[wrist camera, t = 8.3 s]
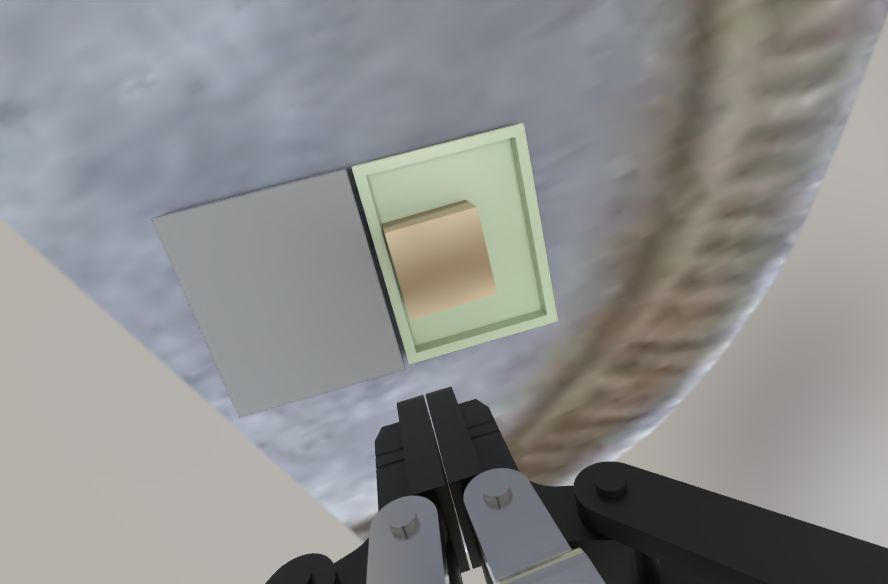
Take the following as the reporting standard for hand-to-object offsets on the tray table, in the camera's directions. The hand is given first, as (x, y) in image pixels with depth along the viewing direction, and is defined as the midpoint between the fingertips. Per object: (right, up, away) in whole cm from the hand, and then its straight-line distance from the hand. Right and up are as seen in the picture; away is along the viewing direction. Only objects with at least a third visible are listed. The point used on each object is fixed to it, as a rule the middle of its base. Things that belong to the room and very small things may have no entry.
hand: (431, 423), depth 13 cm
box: (+1, +6, +17) cm, 18 cm away
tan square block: (0, +6, +16) cm, 17 cm away
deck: (-9, +4, +16) cm, 18 cm away
